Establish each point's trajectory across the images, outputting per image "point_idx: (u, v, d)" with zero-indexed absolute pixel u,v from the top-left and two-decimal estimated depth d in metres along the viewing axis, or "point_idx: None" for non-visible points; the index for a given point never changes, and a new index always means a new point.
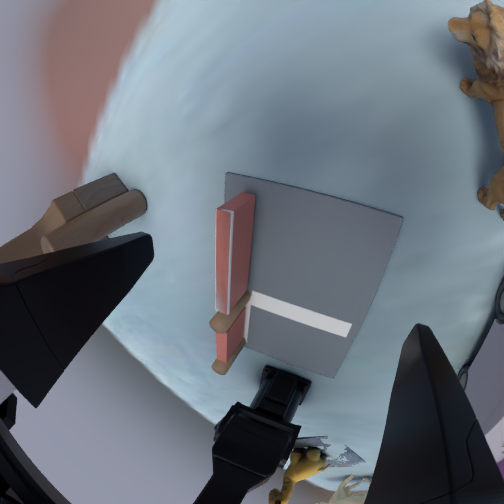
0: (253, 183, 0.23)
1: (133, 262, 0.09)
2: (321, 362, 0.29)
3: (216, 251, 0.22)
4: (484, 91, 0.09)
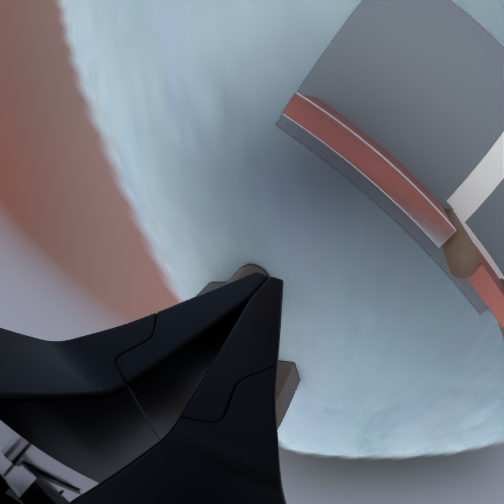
0: None
1: None
2: None
3: (346, 159, 0.12)
4: None
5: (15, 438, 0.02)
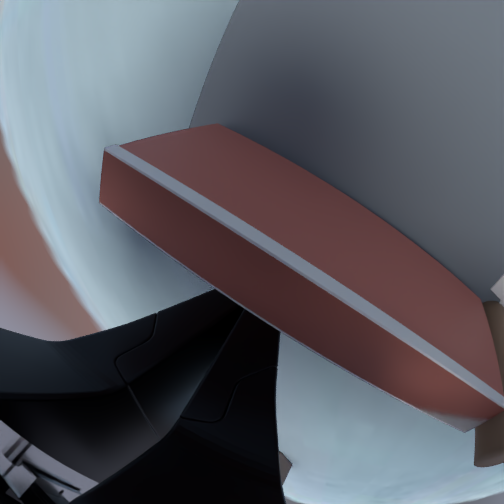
0: (200, 125, 0.08)
1: None
2: None
3: (245, 301, 0.05)
4: None
5: (15, 438, 0.02)
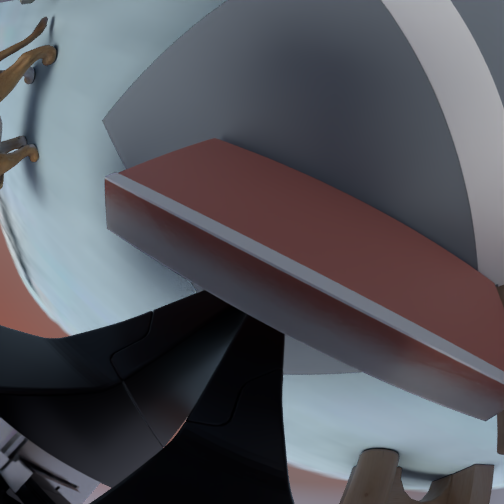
0: None
1: None
2: None
3: (251, 309, 0.05)
4: None
5: (12, 433, 0.02)
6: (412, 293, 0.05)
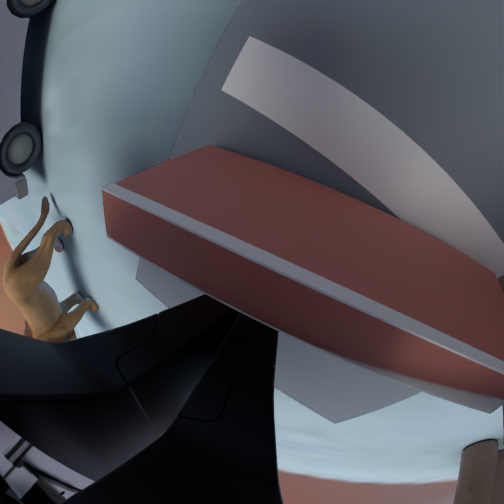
0: (308, 404, 0.14)
1: None
2: None
3: (247, 308, 0.05)
4: (63, 329, 0.18)
5: (16, 440, 0.02)
6: (405, 286, 0.05)
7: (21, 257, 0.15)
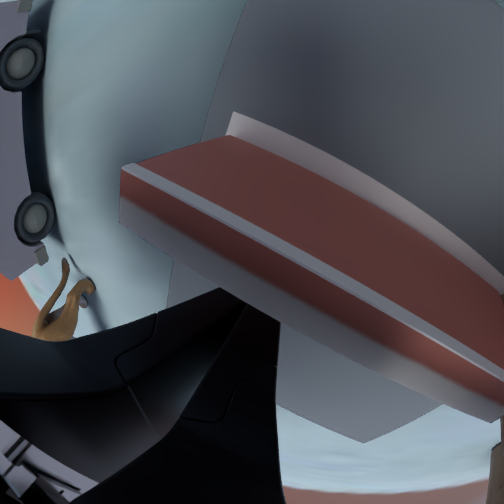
0: (335, 429, 0.14)
1: None
2: None
3: (275, 312, 0.05)
4: None
5: (15, 438, 0.02)
6: (430, 298, 0.04)
7: (48, 316, 0.17)
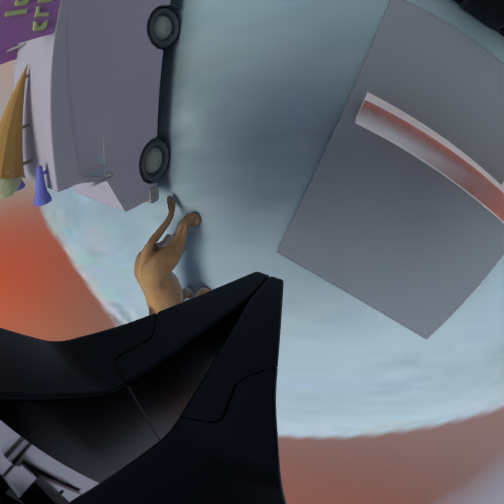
0: (407, 323, 0.20)
1: None
2: (415, 36, 0.10)
3: (424, 160, 0.10)
4: None
5: (15, 438, 0.02)
6: None
7: None
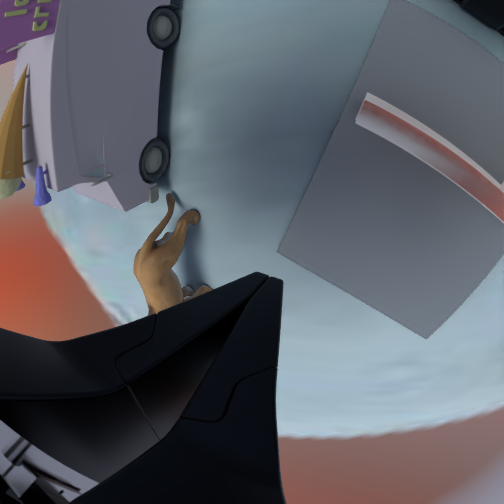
0: (407, 323, 0.20)
1: None
2: (415, 36, 0.10)
3: (424, 160, 0.10)
4: None
5: (15, 438, 0.02)
6: None
7: None
